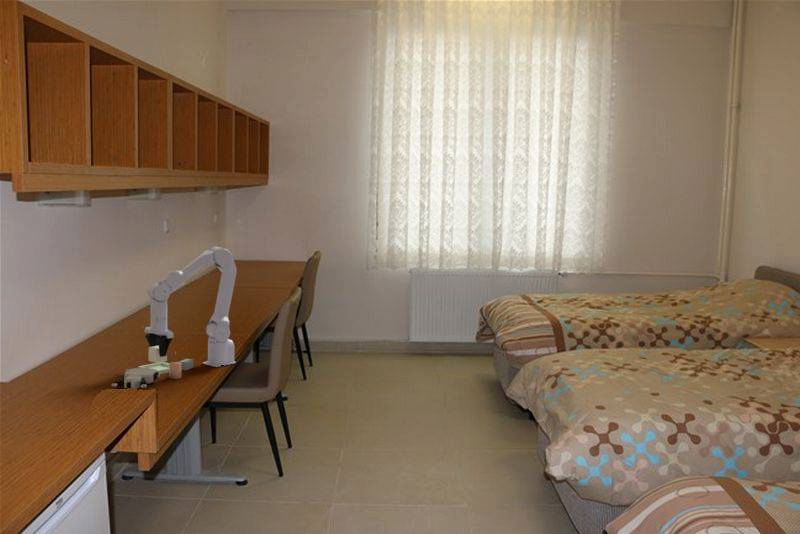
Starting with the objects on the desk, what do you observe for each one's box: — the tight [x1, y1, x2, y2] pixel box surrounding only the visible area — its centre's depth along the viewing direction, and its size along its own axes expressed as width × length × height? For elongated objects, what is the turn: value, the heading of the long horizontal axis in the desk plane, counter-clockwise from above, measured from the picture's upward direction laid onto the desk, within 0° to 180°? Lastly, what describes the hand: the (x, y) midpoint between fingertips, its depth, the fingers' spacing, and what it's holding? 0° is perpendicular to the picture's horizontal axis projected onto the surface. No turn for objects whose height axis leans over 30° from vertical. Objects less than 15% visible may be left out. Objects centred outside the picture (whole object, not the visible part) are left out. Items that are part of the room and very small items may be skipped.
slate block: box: [178, 358, 195, 371], centre depth 259 cm, size 5×3×3 cm, turn 165°
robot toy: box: [111, 367, 162, 390], centre depth 234 cm, size 12×4×15 cm
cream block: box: [148, 346, 168, 363], centre depth 253 cm, size 4×4×5 cm
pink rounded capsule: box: [168, 361, 183, 380], centre depth 246 cm, size 4×4×5 cm
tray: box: [137, 361, 170, 375], centre depth 254 cm, size 10×10×1 cm
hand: (158, 355), depth 254 cm, fingers closed on cream block, 4 cm apart
